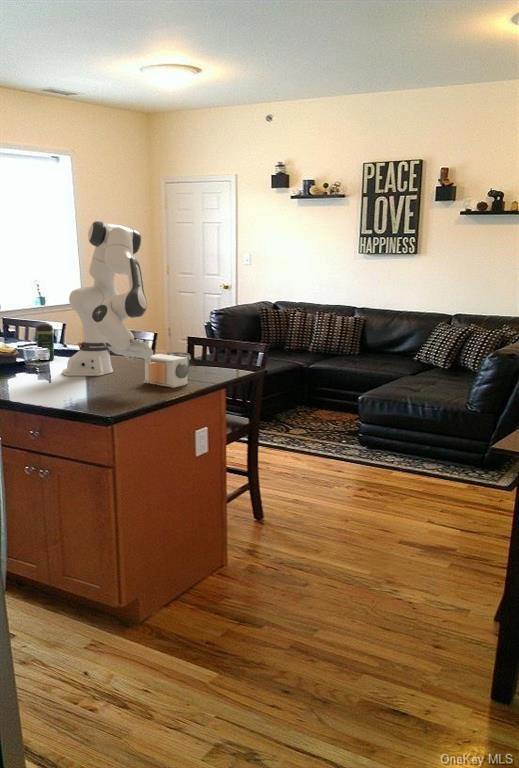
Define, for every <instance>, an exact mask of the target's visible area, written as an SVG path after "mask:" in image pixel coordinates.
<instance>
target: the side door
mask: <svg viewBox="0 0 519 768" xmlns="http://www.w3.org/2000/svg"><path fill="white" fill-rule="evenodd" d="M148 369H149V382H150V383H153V382H159V383H166V371H165V363H162V362H155V361H151V362H150V363H148Z"/></svg>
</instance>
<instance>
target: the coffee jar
mask: <svg viewBox="0 0 519 768" xmlns="http://www.w3.org/2000/svg"><path fill="white" fill-rule="evenodd" d="M36 343H37V347H42V348H48V349H49V350H50V360H49V361H53V360H54V359H55V350H54V349H55V347H54V346H55V345H54V344H55V342H54V328H53V325H52V324H49V323H45V322H44V323H42V322H41V323H40V324H38V325H37V326H36Z"/></svg>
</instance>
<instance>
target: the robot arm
mask: <svg viewBox="0 0 519 768" xmlns="http://www.w3.org/2000/svg"><path fill="white" fill-rule="evenodd" d="M87 237H88V241H89V244H91V245H92V246H94V249H93V253H92V256H91V257H92V258H91V262H90V265H89V270H88V272H89V275H90V276H91V278H92V279H93V286H86V287H85V286H84V287H79V288H76V289H73V290H72V291H71V292H70V294H69V298H68V303H69V305H70V307H71V309H72V310H73V311H74V312H75V313H76V314H77V315H78V316H79V319H80V322H81V325H82V333H83V334H82V335H83V341H78V343H77V346H78V347H79V348H78V349H79V350H78V351H77V352H76V353H74V354H73V355H72V356H71V357H69V358H68V361H67V363H66V364H67V365H66V368H65V369H64V368H63V370H62V373H61V374H62V375H64V376H66V377H70V376H71V377H76V376H77V377H80V376H81V377H83V376H85V377H86V376H87V377H88V376H89V377H90V376H91V377H94V376H97V377H98V376H103V375H107V374H111V373H113V372H114V369H113V367H112V362H111V356H110V353H111V352H112V353H113V354H115V355H119V356H123V357H125V358H127V359H128V360H129V361H130V362H131V361H134V360H135V358H137V359H144V363H145V362H146V363H150V362H151V359H150V358H151V356H152V355H154V350H153V349H152V348H151V347H150V345H148V344H147V343H146V342H145V341H144V340H138V339H135V336H134V334H133V332H132V331H131V330H130V329H129V328H128V326H127V325H125V324H124V323H123V322H124V320H128V319H134V318H140V317H142V316H143V315H144V314H145V313H146V311H147V308H148V303H147V299H146V295H145V291H144V283H143V277H142V270H141V265H140V263H139V262H138V260H137V259H136V258H135V257H134V255H135V254H137V253H138V252H139V250H140V248H141V246H142V235H141V233H140V232H139V231H137V230H135V229H131V228H129V227H125V226H123V225H120V224H113V223H110V222H109V223H107V222H103V221H100V220H99V221H96V220H95V221H93V223H92V224H91V225H90V226H89V229H88V233H87ZM116 274H119V275H126V276H128V285H129V289H128V291H126V292H125V293H122V294H119V292H118V291H117V289H116V287H115V275H116Z"/></svg>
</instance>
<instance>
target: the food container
mask: <svg viewBox="0 0 519 768" xmlns="http://www.w3.org/2000/svg"><path fill="white" fill-rule="evenodd" d="M165 355H172V356H180V357H187V367H188V370H189V367H190V360H191V359H192V357H191V354H190V353H188V352H182V351H181V352H180V351H175V352H172V351H171V352H167V353H166V354H165ZM187 377H189V373H188V374H187Z"/></svg>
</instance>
